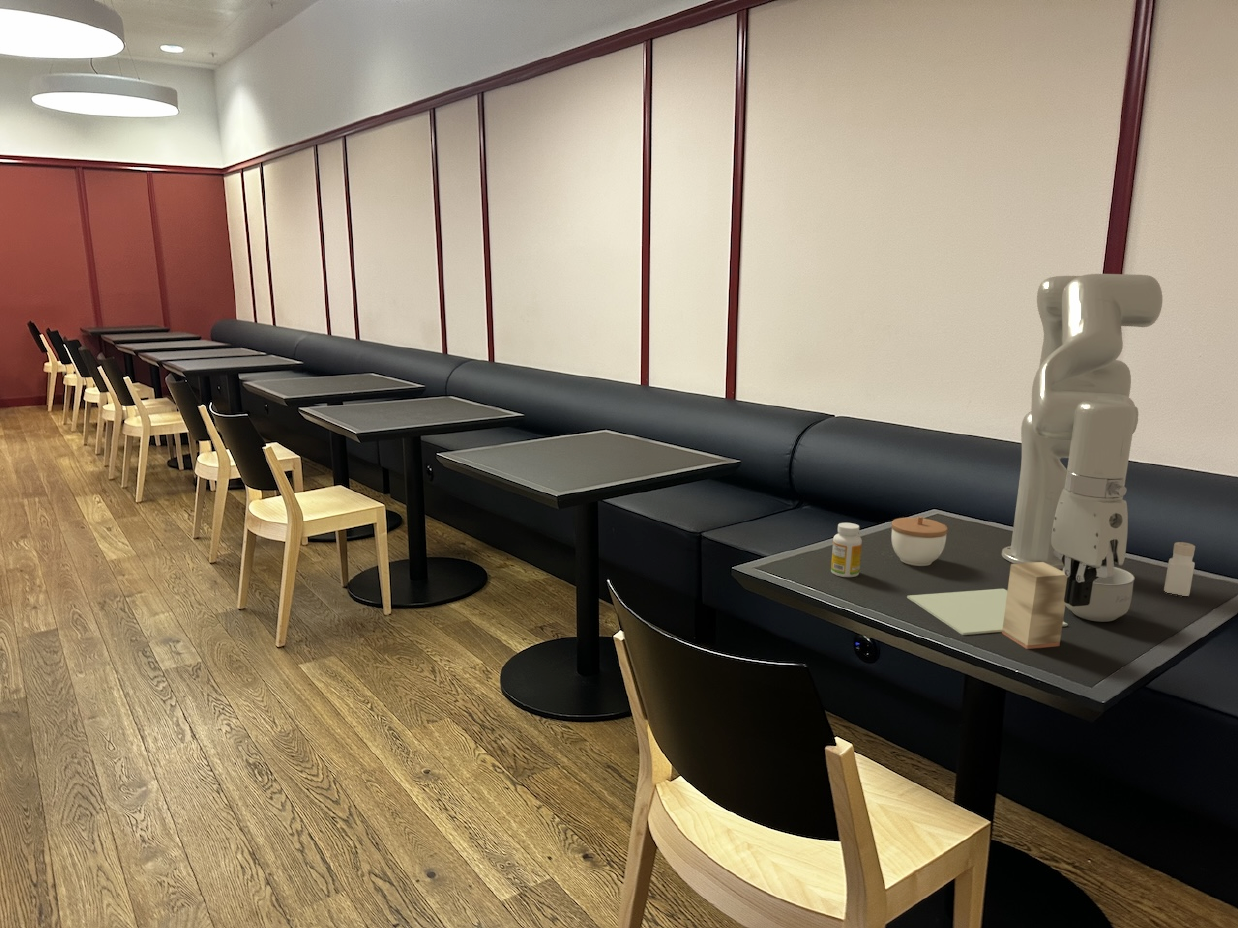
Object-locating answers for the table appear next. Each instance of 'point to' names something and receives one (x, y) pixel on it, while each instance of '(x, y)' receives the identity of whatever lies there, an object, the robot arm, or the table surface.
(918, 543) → the lidded jar
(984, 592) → the sage mat
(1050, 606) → the maple block
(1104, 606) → the teacup
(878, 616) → the table surface
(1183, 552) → the pepper shaker
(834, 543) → the supplement bottle
